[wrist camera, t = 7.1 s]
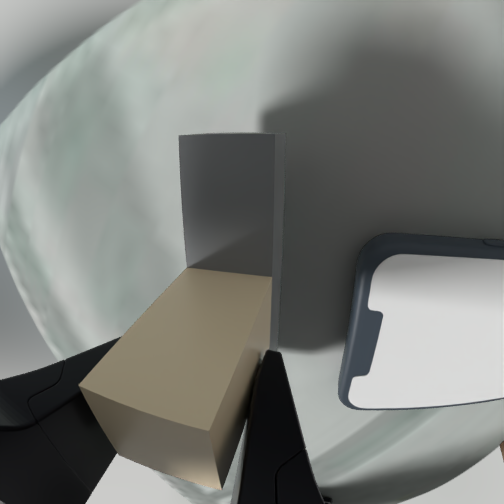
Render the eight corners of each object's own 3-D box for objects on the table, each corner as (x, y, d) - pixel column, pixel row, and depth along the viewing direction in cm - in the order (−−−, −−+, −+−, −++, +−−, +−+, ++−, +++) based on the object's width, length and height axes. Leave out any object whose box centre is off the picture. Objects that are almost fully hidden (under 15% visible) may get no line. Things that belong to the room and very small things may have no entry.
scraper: (275, 382, 13) (231, 528, 6) (220, 373, 13) (156, 505, 7) (285, 133, 9) (176, 143, 2) (207, 133, 9) (14, 165, 3)
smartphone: (603, 248, 7) (358, 223, 11) (618, 259, 6) (363, 238, 9) (553, 372, 11) (334, 389, 14) (561, 388, 9) (333, 413, 13)
